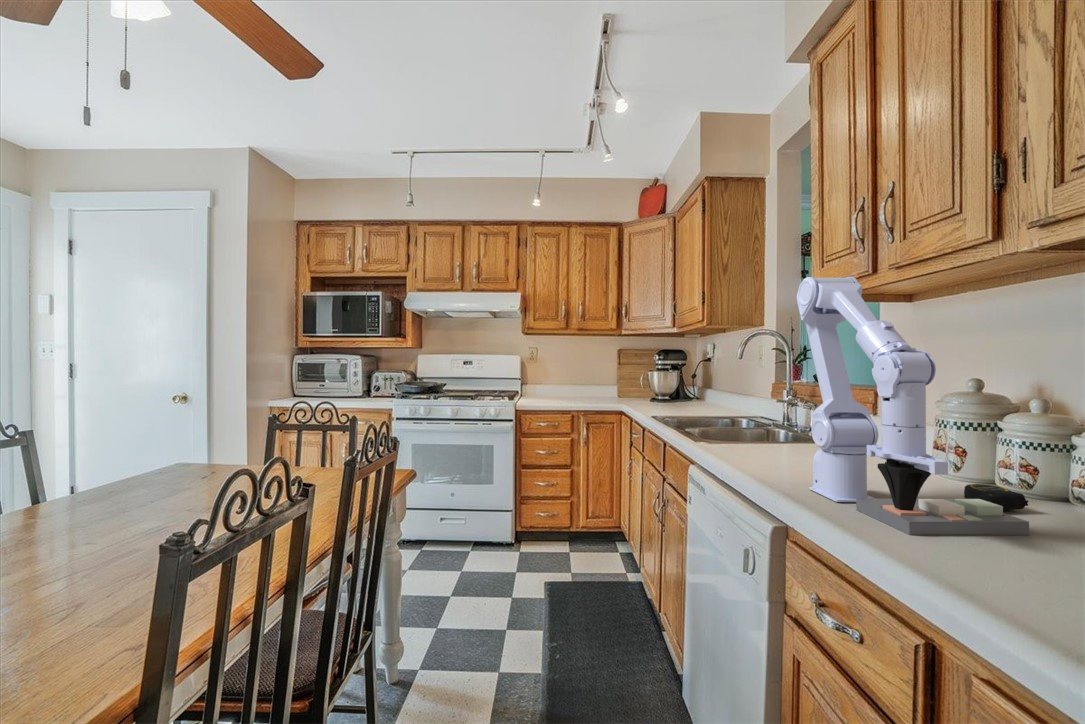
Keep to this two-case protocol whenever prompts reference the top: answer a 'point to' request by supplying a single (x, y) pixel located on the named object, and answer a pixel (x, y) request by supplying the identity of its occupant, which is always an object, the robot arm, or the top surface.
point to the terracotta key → (904, 511)
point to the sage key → (980, 507)
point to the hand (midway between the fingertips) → (903, 509)
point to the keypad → (943, 521)
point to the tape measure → (996, 496)
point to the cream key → (941, 507)
